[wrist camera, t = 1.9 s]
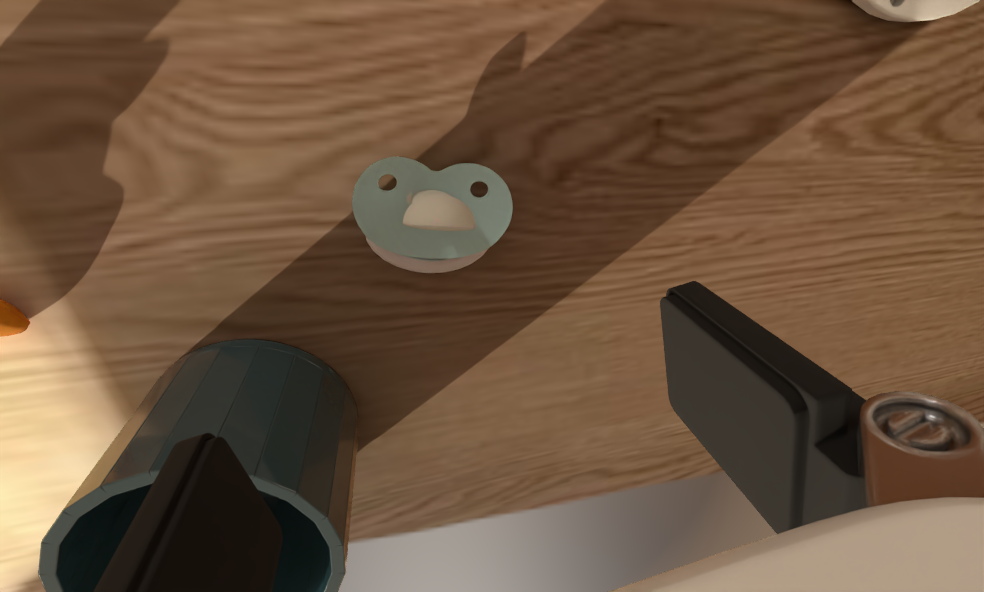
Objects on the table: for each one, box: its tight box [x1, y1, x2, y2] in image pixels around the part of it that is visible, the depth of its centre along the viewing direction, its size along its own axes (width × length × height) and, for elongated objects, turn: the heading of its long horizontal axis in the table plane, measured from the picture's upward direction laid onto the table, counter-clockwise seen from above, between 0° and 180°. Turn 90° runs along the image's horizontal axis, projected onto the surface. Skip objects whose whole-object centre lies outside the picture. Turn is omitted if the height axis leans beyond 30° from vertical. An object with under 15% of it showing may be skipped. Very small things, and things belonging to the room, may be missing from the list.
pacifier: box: [352, 157, 513, 273], centre depth 23 cm, size 7×6×6 cm
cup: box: [38, 339, 358, 592], centre depth 25 cm, size 11×11×10 cm
